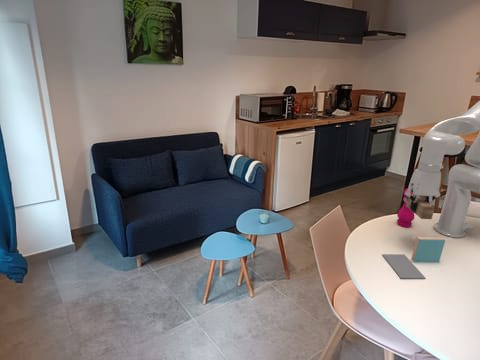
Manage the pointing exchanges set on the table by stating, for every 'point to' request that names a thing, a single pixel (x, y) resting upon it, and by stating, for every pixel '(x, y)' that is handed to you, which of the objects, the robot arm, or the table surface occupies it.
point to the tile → (428, 249)
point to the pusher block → (422, 208)
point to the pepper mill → (405, 214)
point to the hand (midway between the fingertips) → (418, 210)
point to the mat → (403, 266)
